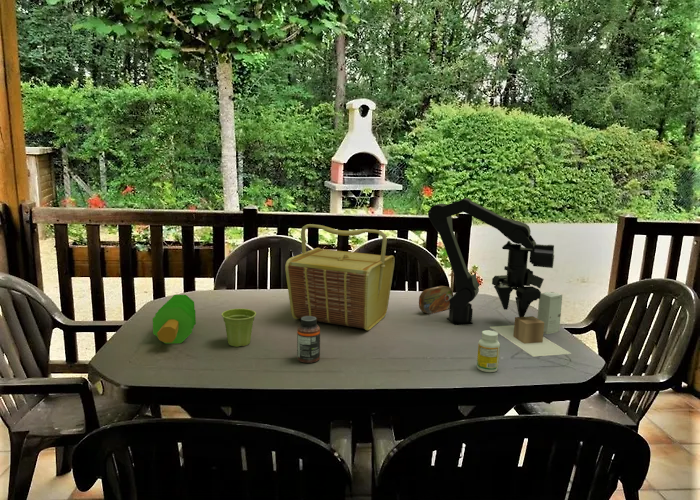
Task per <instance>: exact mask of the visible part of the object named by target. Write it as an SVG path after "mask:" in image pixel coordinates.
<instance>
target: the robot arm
mask: <svg viewBox="0 0 700 500" xmlns="http://www.w3.org/2000/svg"><path fill="white" fill-rule="evenodd" d="M462 213H466V214H467V215H469V216H471V217H473V218H475V219H476V220H478V221H481V222H482V223H484V224H487V225H489V226H491V227H492V228H494V229H495V230H497V231H499V232H500V233H501V234H502V235H503V236H504V237H506V238H507V239H508V241H507V242H506V243H505V244H504V245H502V246H501V248H502V250H506V251H508V253H507V254H508V255H507V265H506V266H505V265H504V271H506V274H505V275H494V276H493V277H492V280H491V285H492V286H493V288H494V289H495V291H496V294H497V296H498V298H499V300H500V303H501V306H502V308H503V310H504V311H505V310H508V307H509V305H510V298H511V293H512V292H513V290H514V291H515V295H516V296H515V303H516V309H517V314H518V317H525V316H526V313H527V311H528V308H529V307H530V305H531V304H532V303H533V302H534V301H538V300H539V299H540V298H541V293H542V291H541V290H540V289H541V287H542V284H543V282H544V280H545V279H544V278H543V277H540V276H538V275H535V274H534V271H533V270H531V269H530V268H528V260H529V263H530V265H532V266H533V267H540V268H547V269H553V268H554V261H555V260H554V259H555V254H554V253H555V245H554V244H537V243H536V241H535V239H534V237H533V236H532V234H531V228H530V226H529V225H528V224H527V223H525V222H523V221H522V222H521V221H520V220H516V219H511V218H507V217H504V216H502V215H501V214H498V213H496V212H494V211H492V210H490V209H488V208H486V207H484V206H482V205H480V204H478V203H476V202H475V201H473V200H472V199H470V198H467V197H465V198H462V199H460V200H458V201H455V202H451V203H448V204H446V203H438V204H435V205H433V206H431V207H430V208H429V209H428V212H427V217H428V220H429V221H430V223H431V224H432V226H433V228H434V229H435V230H436V232H437V233H438V234H439V236H440V238H441V241H442V245H443V247H444V250H445V252H446V255H447V258H448V261H449V263H450V266H451V268H452V271H453V274H454V283H455V293H453V296H452V297H451V298H450V300H449V301H450V307H449V308H448V317H446V320H447V321H448V322H450V323H451V324H452V325H454V326H464V325H467V326H468V325H473V324H474V322H472V321H473V310H474V308H473V305H472V304H471V303H470V302H472V301H474V299H475V298H476V297H477V296H478V294H479V292H480V291H479V290H480V288H479V287H480V286H481V284H480V283H479V282H478V279H477V275H476V273H473V274H471V273H470V271H469V270H468V268H467V265H466V263H465V259H464V257H463V254H462V252H461V249H460V246H459V243H458V240H457V238H456V235H455V233H454V230H453V229H454V228H453V216H455V215H457V214H462ZM528 256H529V259H528Z"/></svg>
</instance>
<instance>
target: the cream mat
mask: <svg viewBox="0 0 700 500" xmlns="http://www.w3.org/2000/svg"><path fill="white" fill-rule="evenodd" d="M489 328H490V329H492V331H495V332H497V333H498V335H500V336H502V337H503V338H505V339H506V340H508V341H509V342H511V343H512V344H514V345H516V347H518V348H520V349H521V350H523V351H524V352H525V353H527V354H528V355H530V356H531V357H533V358H534V357H544V356H546V357H547V356H560V355H572V352H570V351H568V350H567V349H565V348H563V347H561V346H560V345H558V344H556V343H555V342H553V341H551V340H550V339H548V338H546V337H545V336H543V342H540V343H525V344H524V343H523V342H521V341H519V340H518V339H516V338H515V337H513V335H514V324H513V325H498V326H495V325H494V326H489Z"/></svg>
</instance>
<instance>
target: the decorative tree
mask: <svg viewBox="0 0 700 500" xmlns="http://www.w3.org/2000/svg"><path fill="white" fill-rule="evenodd" d="M195 308H196V307H195V301H194V300H193V299H191V298H190V297H189V296H188V295H187V294H174V295H173V296H172V297H170V299H169V300H167V301H166V302H165V303H164V304H163V305H162V306H161V307H160V308H159V309H158V311H157V312H156V313H155V315H154V317H153V318H152V334H153V335H154V336H155V337H156V338H158V340H159V341H160V342H162V343H164V344H165V345H166V344H170V345H171V344H182V343H183V342H184V341H185V340H186V339H187V338H189V336H190V335H192V333H193V329H194V327H195V325H196V324H197V322H196V321H197V318H196V309H195Z"/></svg>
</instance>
